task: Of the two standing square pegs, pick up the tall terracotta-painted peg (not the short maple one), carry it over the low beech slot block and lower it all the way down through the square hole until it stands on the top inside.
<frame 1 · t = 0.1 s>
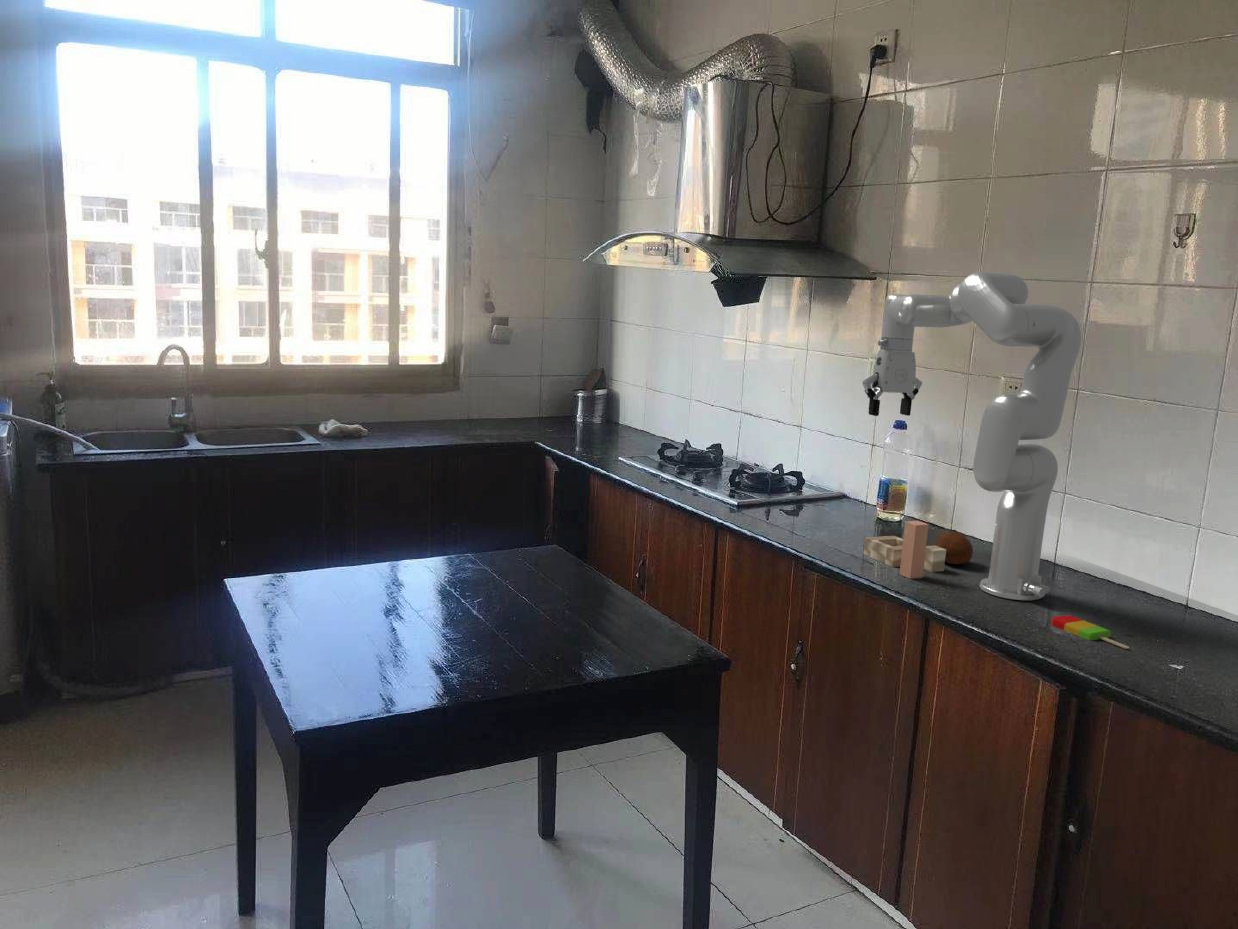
hand: (889, 415, 240), 31 cm above the table, fingers open, 9 cm apart
short peg: (932, 569, 220), on the table
popsicle: (1091, 639, 182), on the table
slot block: (892, 559, 226), on the table
brown oval lump: (952, 563, 226), on the table
long peg: (911, 575, 214), on the table
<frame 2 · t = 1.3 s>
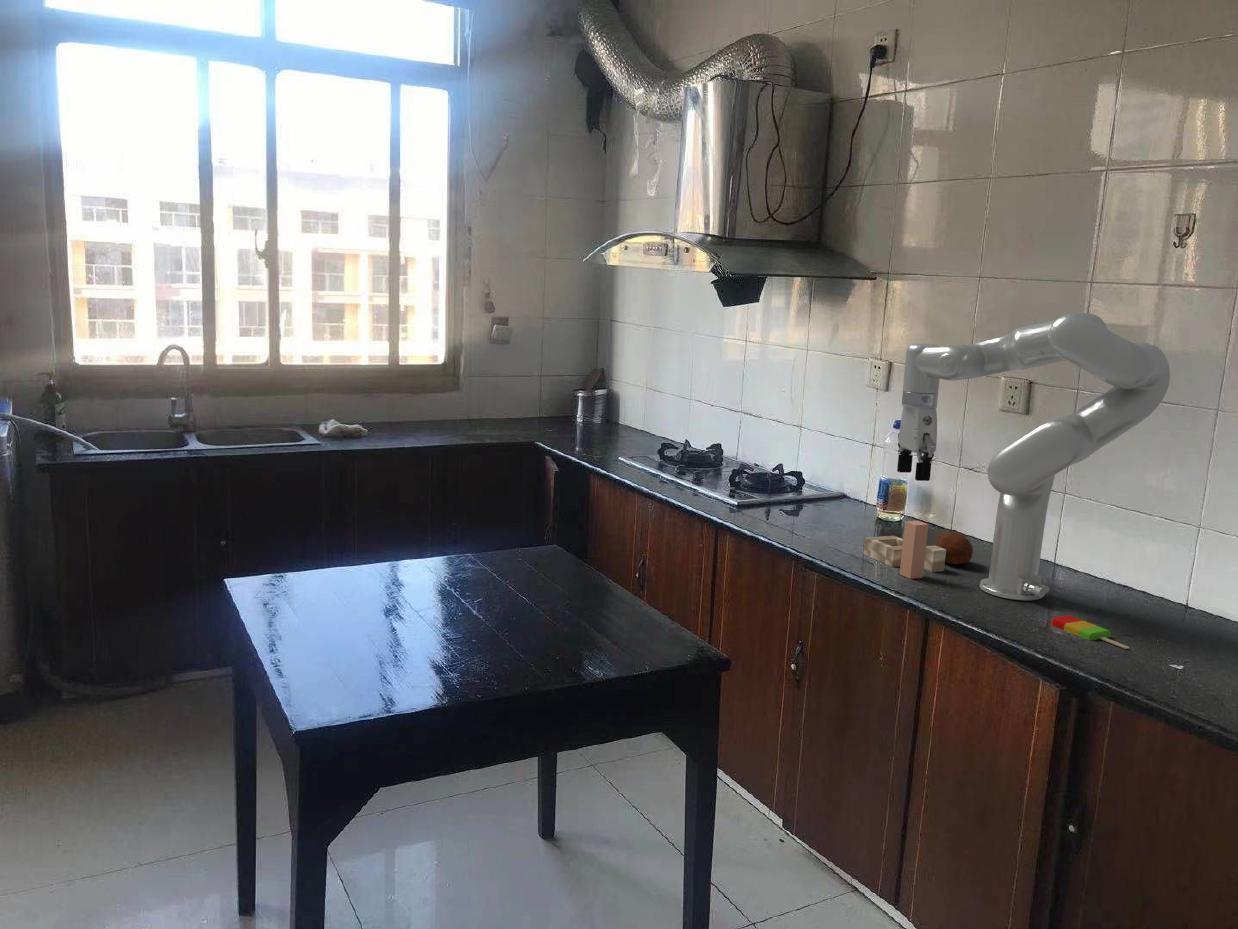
hand: (913, 476, 217), 21 cm above the table, fingers open, 9 cm apart
nothing on the table moved.
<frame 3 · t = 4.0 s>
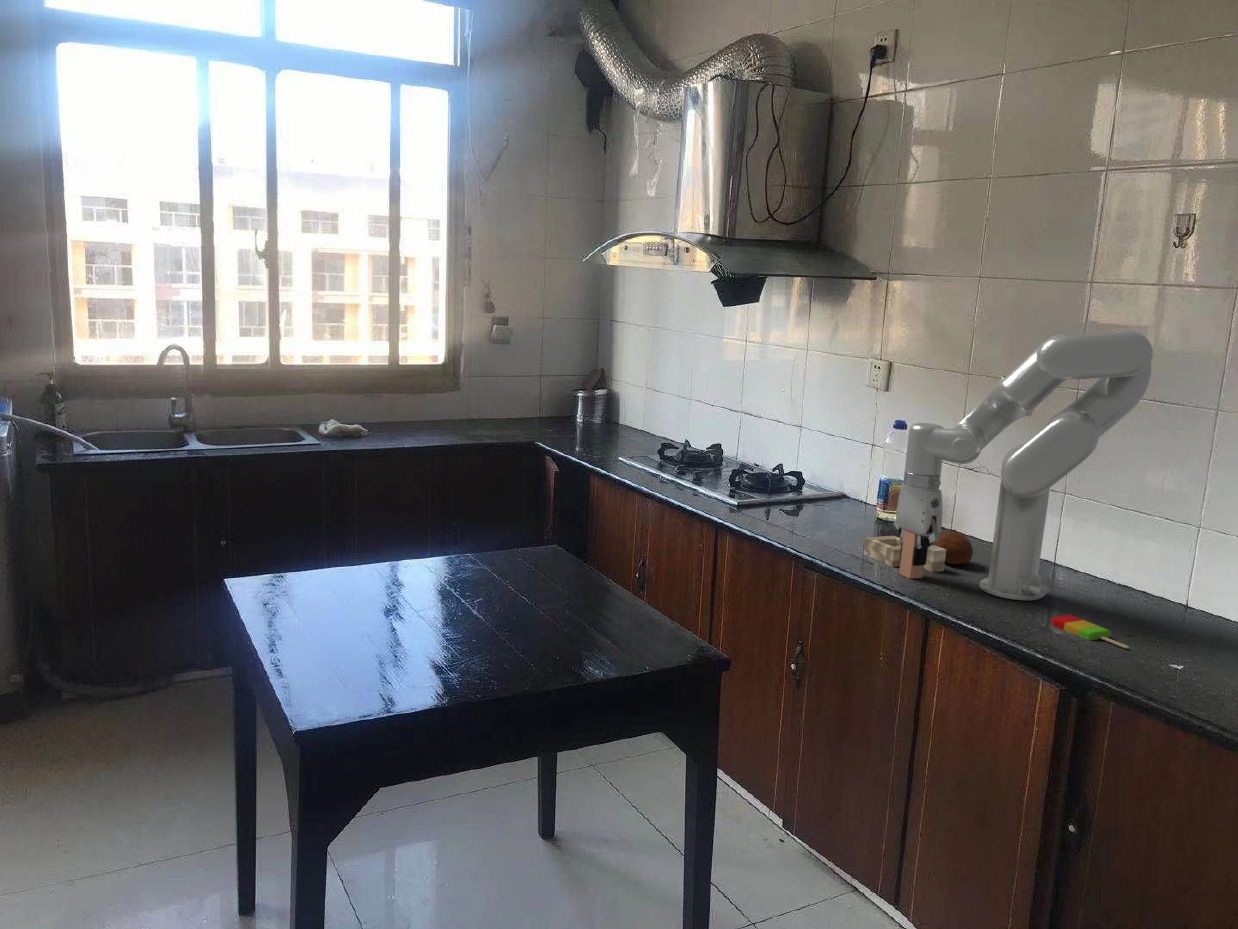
hand: (912, 561, 213), 3 cm above the table, fingers closed on long peg, 3 cm apart
long peg: (910, 575, 214), on the table, touching gripper
everything else where it was.
when the fingers open (5 cm above the table, at t = 9.5 s): long peg drops 1 cm, on the table.
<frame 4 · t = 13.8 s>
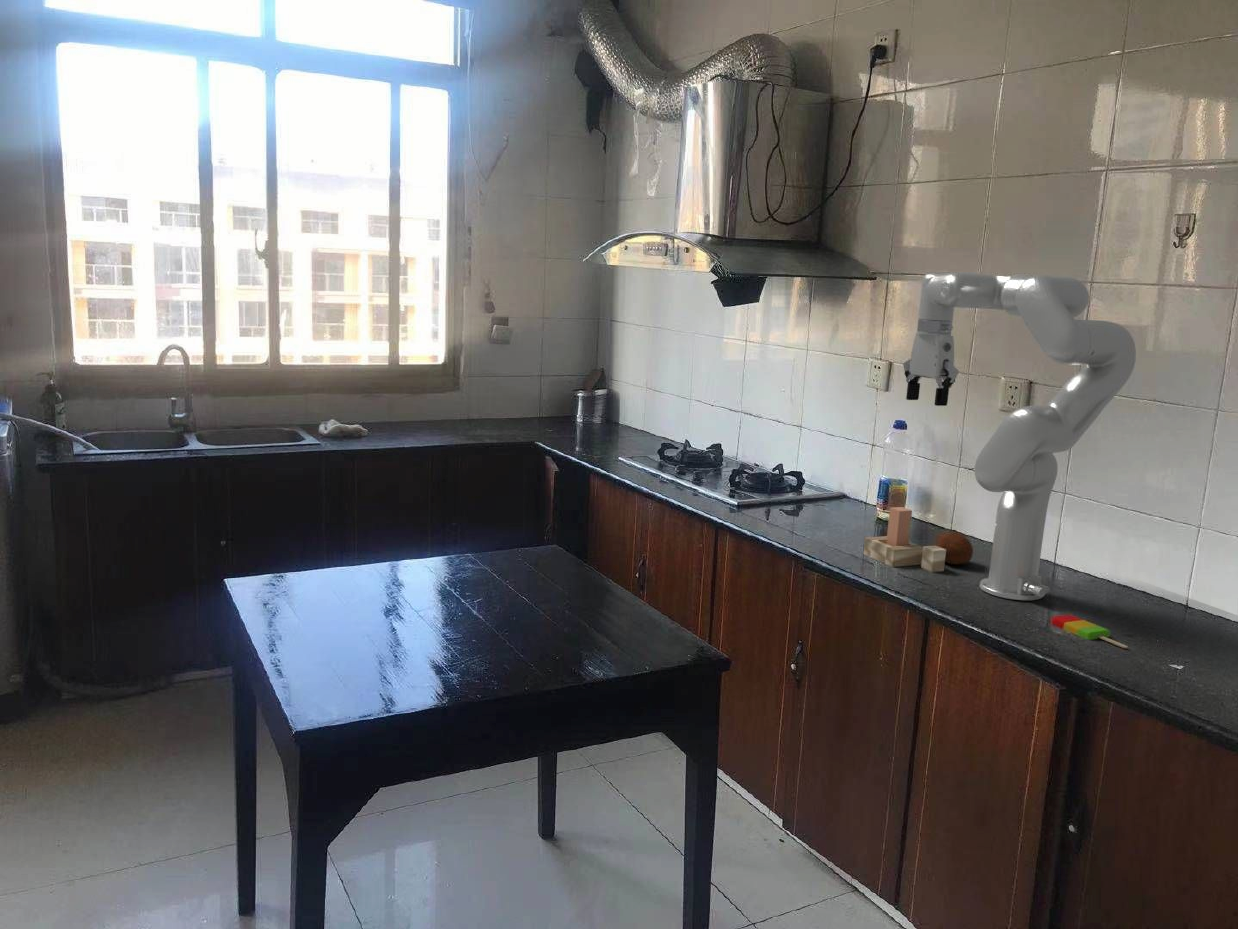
hand: (926, 402, 225), 36 cm above the table, fingers open, 9 cm apart
long peg: (895, 559, 227), on the table
everything else where it was.
at the end: long peg 0.9 cm from the slot block (horizontally); long peg on the table; the gripper is holding nothing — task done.
